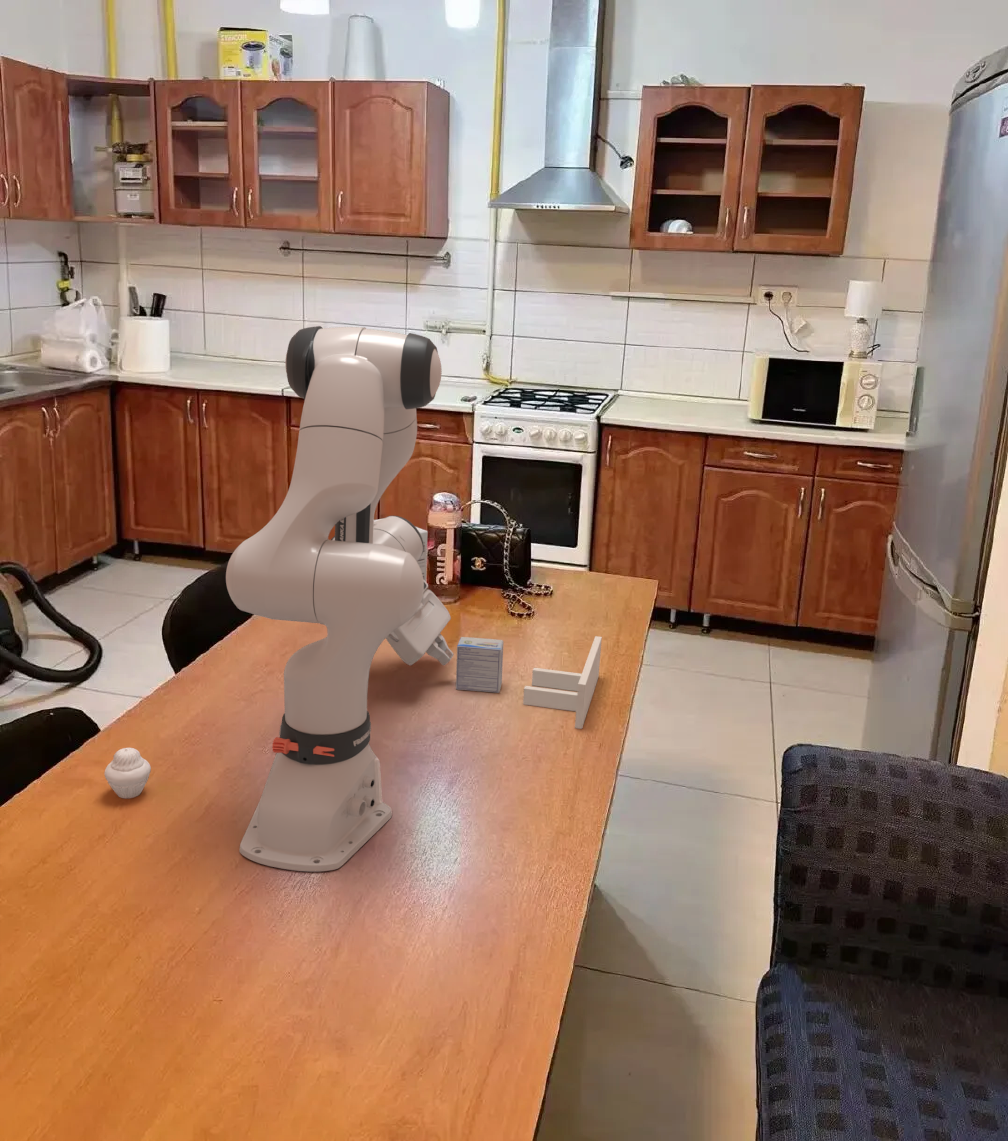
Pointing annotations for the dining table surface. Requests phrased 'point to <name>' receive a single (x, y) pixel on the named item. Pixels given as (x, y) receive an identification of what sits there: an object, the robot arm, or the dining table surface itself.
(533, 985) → the dining table surface
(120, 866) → the dining table surface
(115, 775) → the muffin
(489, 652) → the medicine box
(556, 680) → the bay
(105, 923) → the dining table surface
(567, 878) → the dining table surface
